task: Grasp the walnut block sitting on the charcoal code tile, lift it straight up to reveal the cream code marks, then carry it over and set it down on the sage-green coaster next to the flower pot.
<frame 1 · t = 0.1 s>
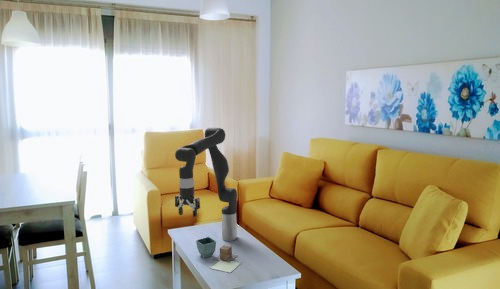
hand: (187, 215, 200), 29 cm above the table, fingers open, 8 cm apart
walnut block: (225, 257, 216), resting on code tile
code tile: (225, 257, 216), on the table
coaster: (225, 266, 205), on the table
flower pot: (206, 255, 219), on the table
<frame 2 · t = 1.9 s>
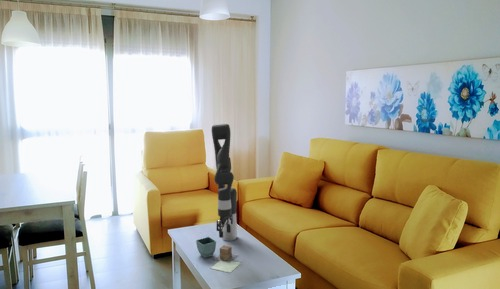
hand: (225, 234, 213), 14 cm above the table, fingers open, 8 cm apart
nothing on the table moved.
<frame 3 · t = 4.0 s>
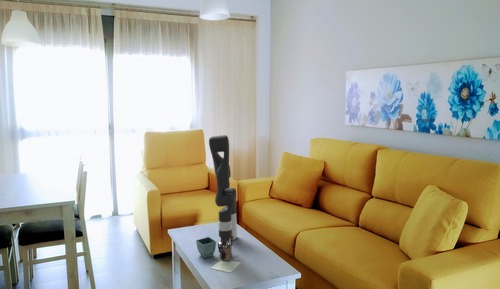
hand: (225, 256, 215), 1 cm above the table, fingers closed on walnut block, 5 cm apart
walnut block: (225, 257, 216), resting on code tile, touching gripper
everything else where it was.
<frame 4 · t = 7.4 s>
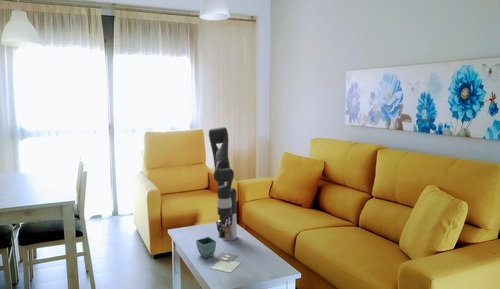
hand: (225, 236, 203), 17 cm above the table, fingers closed on walnut block, 5 cm apart
walnut block: (225, 236, 203), point 17 cm above the table, touching gripper
everything else where it was.
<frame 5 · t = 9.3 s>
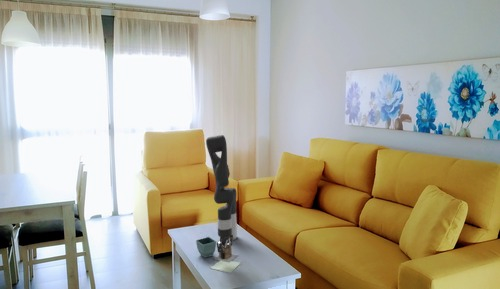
hand: (225, 256, 205), 5 cm above the table, fingers closed on walnut block, 5 cm apart
walnut block: (225, 257, 205), point 5 cm above the table, touching gripper
everything else where it was.
when the fingers open (2 cm above the table, at t = 11.0 s): walnut block drops 1 cm, resting on coaster.
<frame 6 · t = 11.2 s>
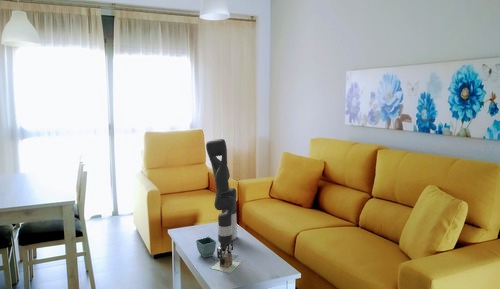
hand: (225, 261, 205), 2 cm above the table, fingers open, 7 cm apart
walnut block: (226, 265, 206), resting on coaster
everything else where it was.
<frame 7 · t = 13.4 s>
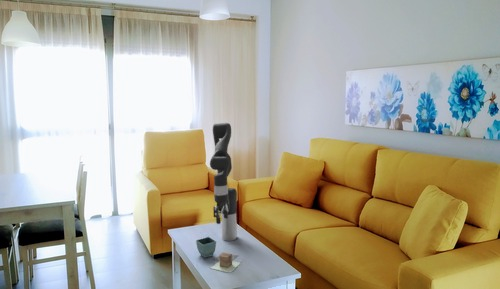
hand: (222, 220, 209), 23 cm above the table, fingers open, 8 cm apart
nothing on the table moved.
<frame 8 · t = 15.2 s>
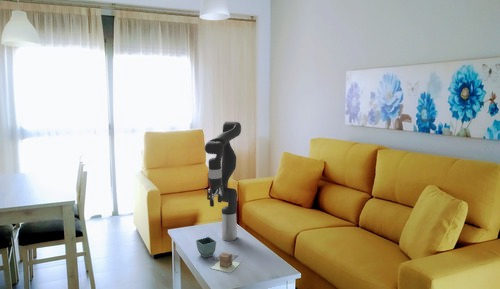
hand: (215, 204, 216), 30 cm above the table, fingers open, 8 cm apart
nothing on the table moved.
at the end: walnut block inside the target area on the coaster (0.2 cm from its centre), point 0.3 cm above the coaster's base; walnut block tilted 0°; walnut block touching coaster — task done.
